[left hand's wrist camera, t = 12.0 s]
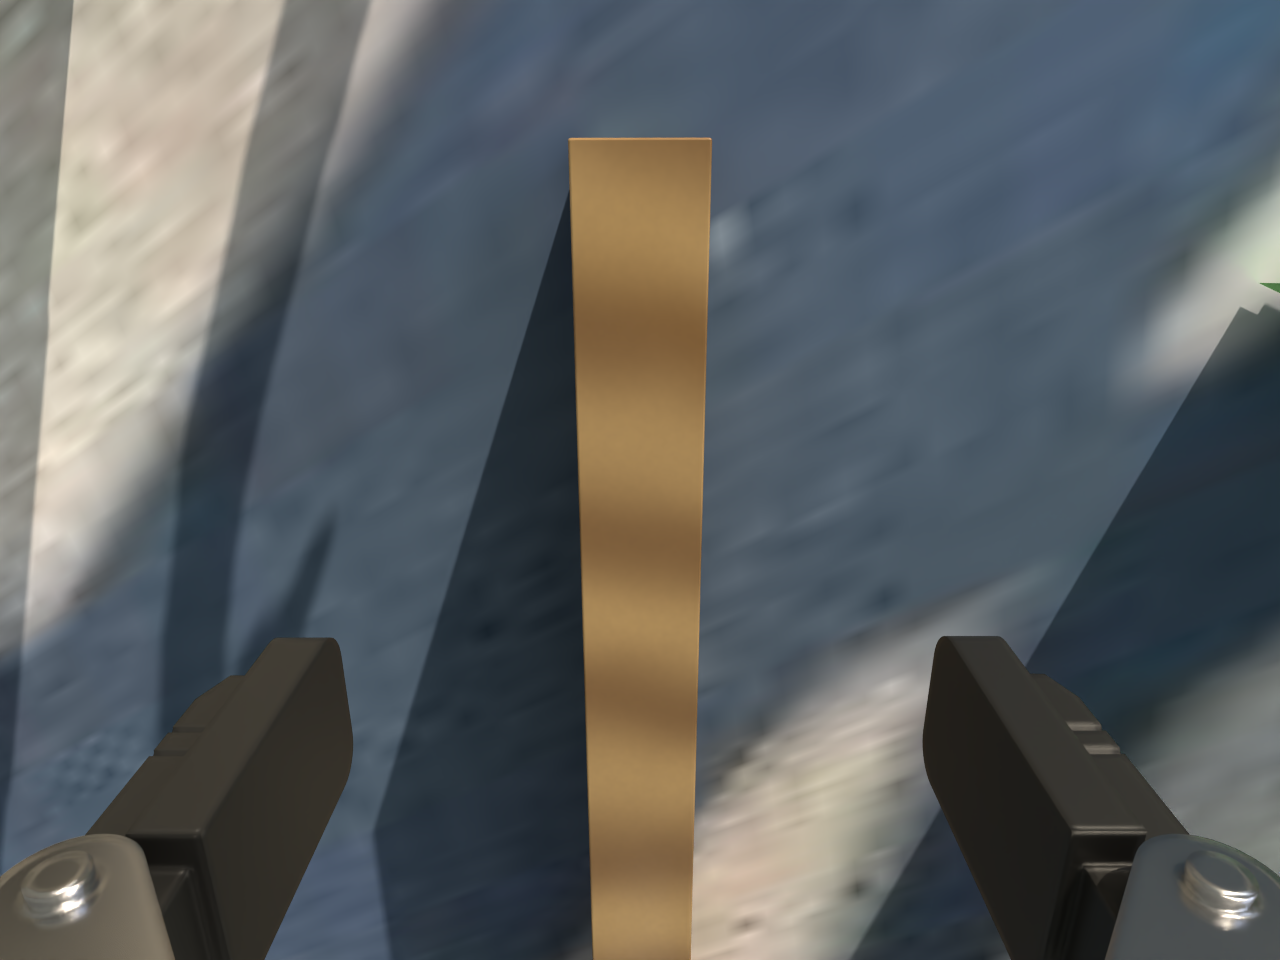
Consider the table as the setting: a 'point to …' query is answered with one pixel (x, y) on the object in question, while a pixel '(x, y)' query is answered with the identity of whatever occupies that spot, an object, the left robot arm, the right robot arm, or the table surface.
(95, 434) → the table surface
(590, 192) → the post
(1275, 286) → the toy game set
